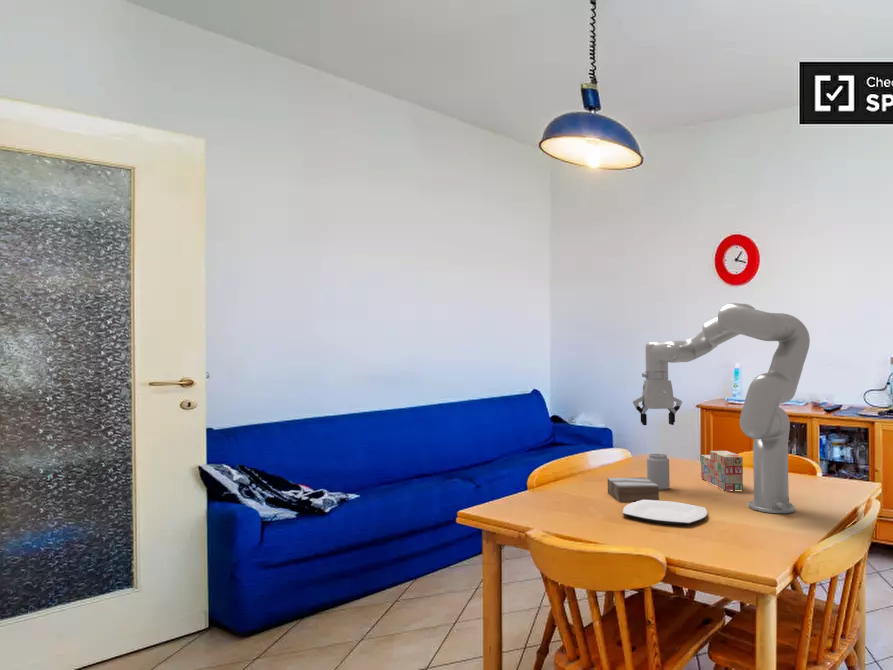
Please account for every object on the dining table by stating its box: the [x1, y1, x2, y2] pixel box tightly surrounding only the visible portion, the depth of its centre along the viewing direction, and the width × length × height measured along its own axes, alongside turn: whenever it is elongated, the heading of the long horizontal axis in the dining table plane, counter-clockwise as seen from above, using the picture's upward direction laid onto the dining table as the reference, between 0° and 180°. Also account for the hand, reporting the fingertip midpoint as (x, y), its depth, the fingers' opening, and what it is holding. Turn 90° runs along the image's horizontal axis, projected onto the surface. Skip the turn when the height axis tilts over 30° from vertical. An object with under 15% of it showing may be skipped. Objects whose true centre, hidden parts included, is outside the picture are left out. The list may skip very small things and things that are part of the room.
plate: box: [622, 500, 708, 526], centre depth 186 cm, size 23×23×2 cm
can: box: [646, 452, 671, 491], centre depth 222 cm, size 8×8×12 cm
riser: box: [607, 477, 660, 503], centre depth 210 cm, size 13×13×5 cm
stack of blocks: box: [700, 450, 744, 492], centre depth 226 cm, size 21×6×12 cm, turn 179°
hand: (657, 424), depth 222 cm, fingers open, 9 cm apart
